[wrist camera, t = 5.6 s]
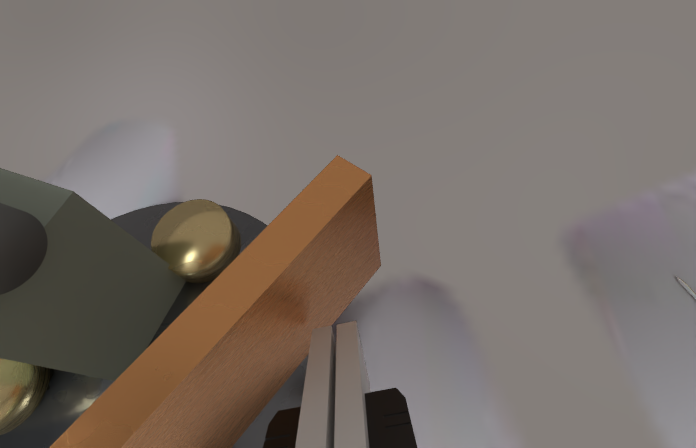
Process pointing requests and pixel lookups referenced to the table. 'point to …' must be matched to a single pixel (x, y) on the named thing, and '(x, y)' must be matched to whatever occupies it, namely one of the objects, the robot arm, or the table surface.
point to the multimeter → (687, 287)
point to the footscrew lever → (244, 326)
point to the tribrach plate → (199, 272)
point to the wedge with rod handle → (75, 283)
